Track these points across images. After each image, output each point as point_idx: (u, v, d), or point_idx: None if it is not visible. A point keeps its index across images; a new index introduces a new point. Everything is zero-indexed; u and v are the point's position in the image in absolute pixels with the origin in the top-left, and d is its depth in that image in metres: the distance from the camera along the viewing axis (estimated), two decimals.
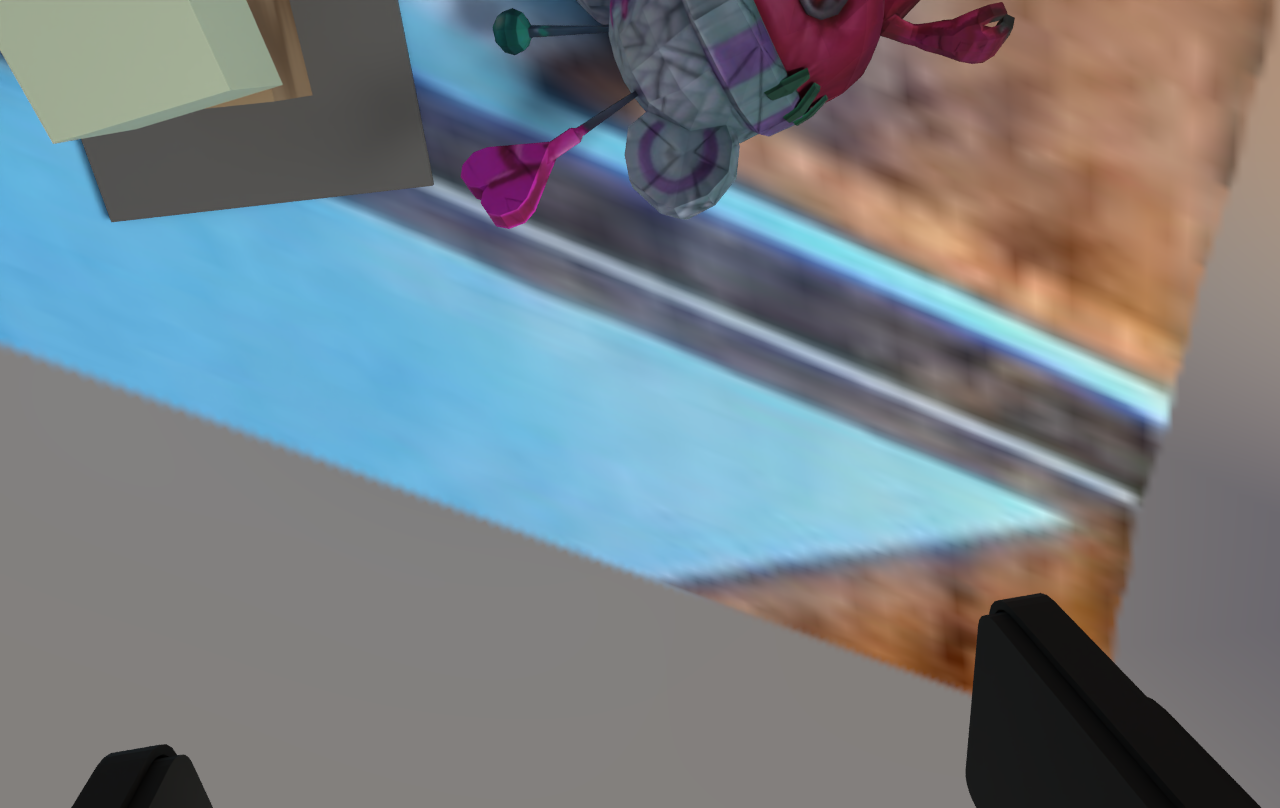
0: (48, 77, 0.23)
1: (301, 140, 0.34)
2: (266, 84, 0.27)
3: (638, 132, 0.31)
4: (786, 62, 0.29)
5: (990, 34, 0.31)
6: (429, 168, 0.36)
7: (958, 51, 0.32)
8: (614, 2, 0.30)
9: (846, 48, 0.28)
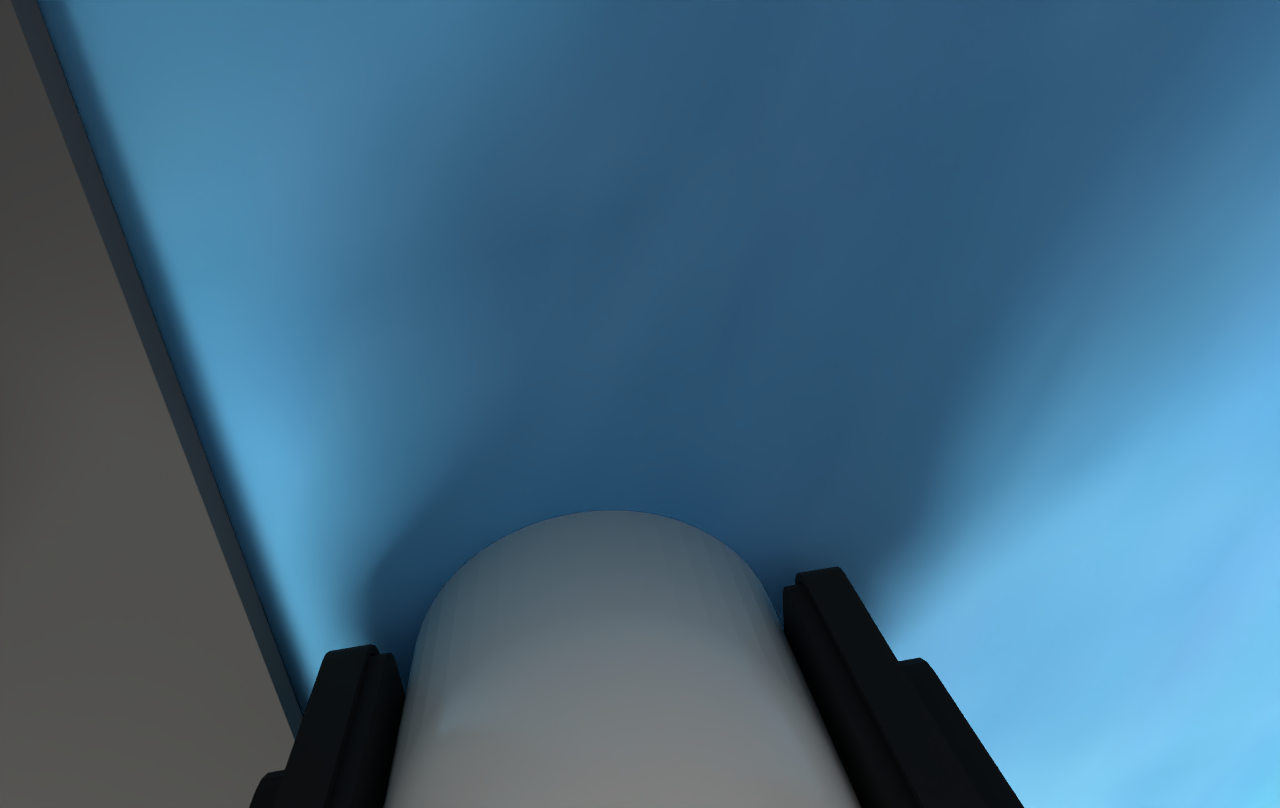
0: None
1: None
2: None
3: None
4: None
5: None
6: None
7: None
8: None
9: None
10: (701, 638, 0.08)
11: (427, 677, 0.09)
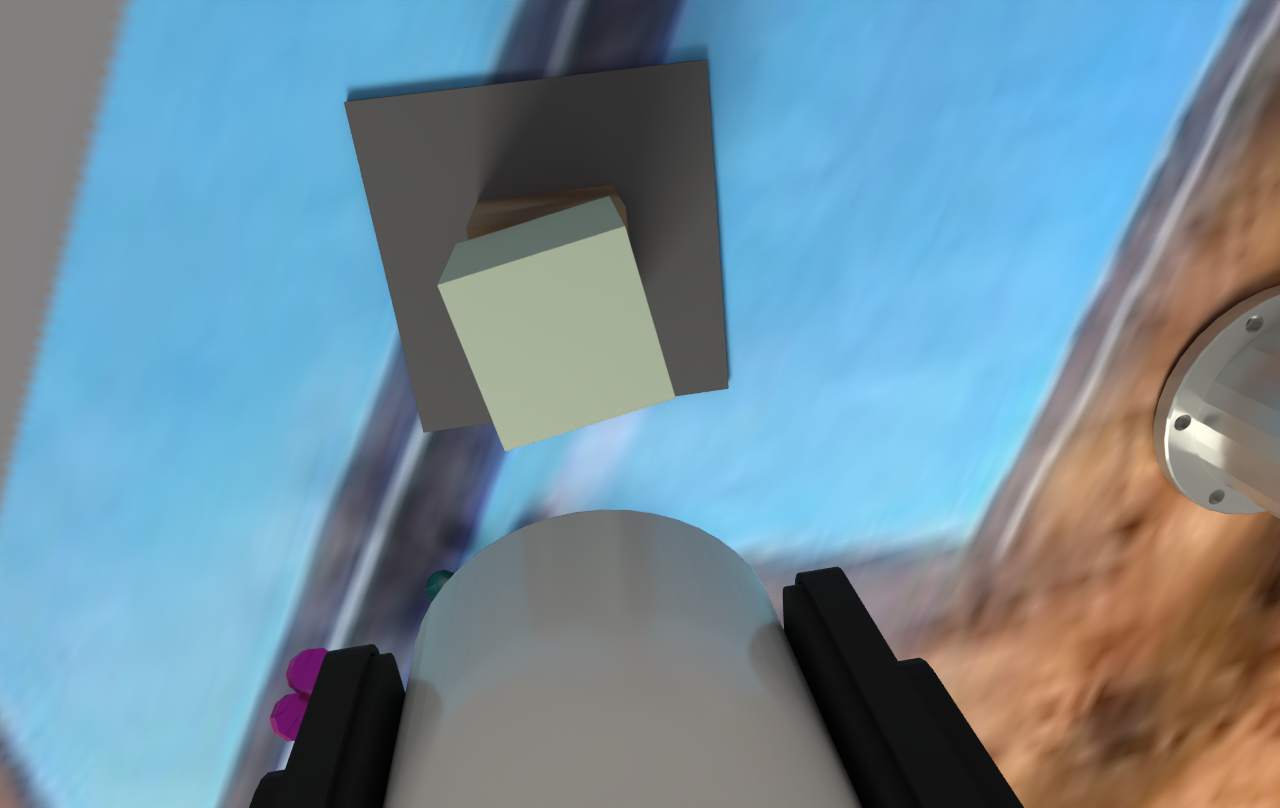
0: (504, 295, 0.23)
1: None
2: None
3: None
4: None
5: None
6: (440, 428, 0.36)
7: None
8: None
9: None
10: (702, 640, 0.08)
11: (426, 678, 0.09)
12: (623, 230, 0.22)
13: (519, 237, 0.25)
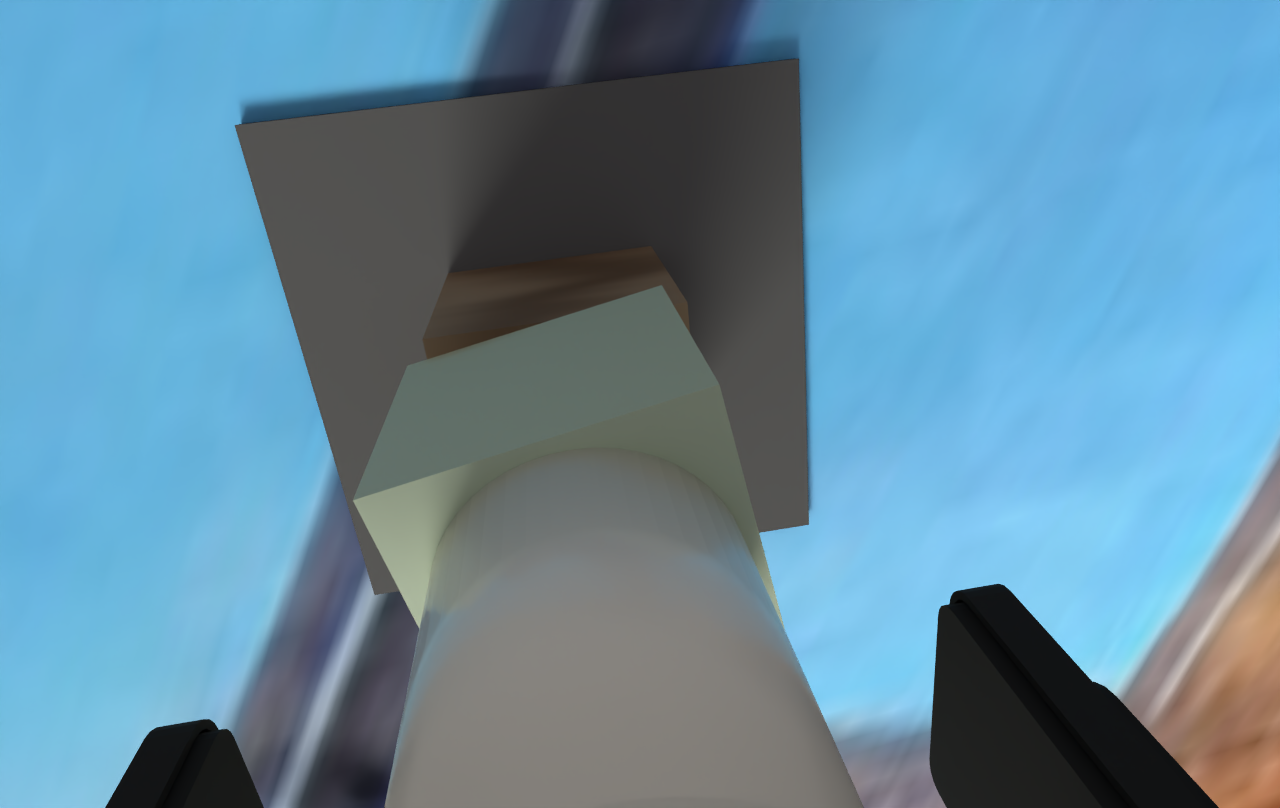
0: None
1: None
2: None
3: None
4: None
5: None
6: (398, 588, 0.25)
7: None
8: None
9: None
10: (674, 542, 0.10)
11: (444, 580, 0.10)
12: (715, 391, 0.11)
13: (513, 372, 0.14)
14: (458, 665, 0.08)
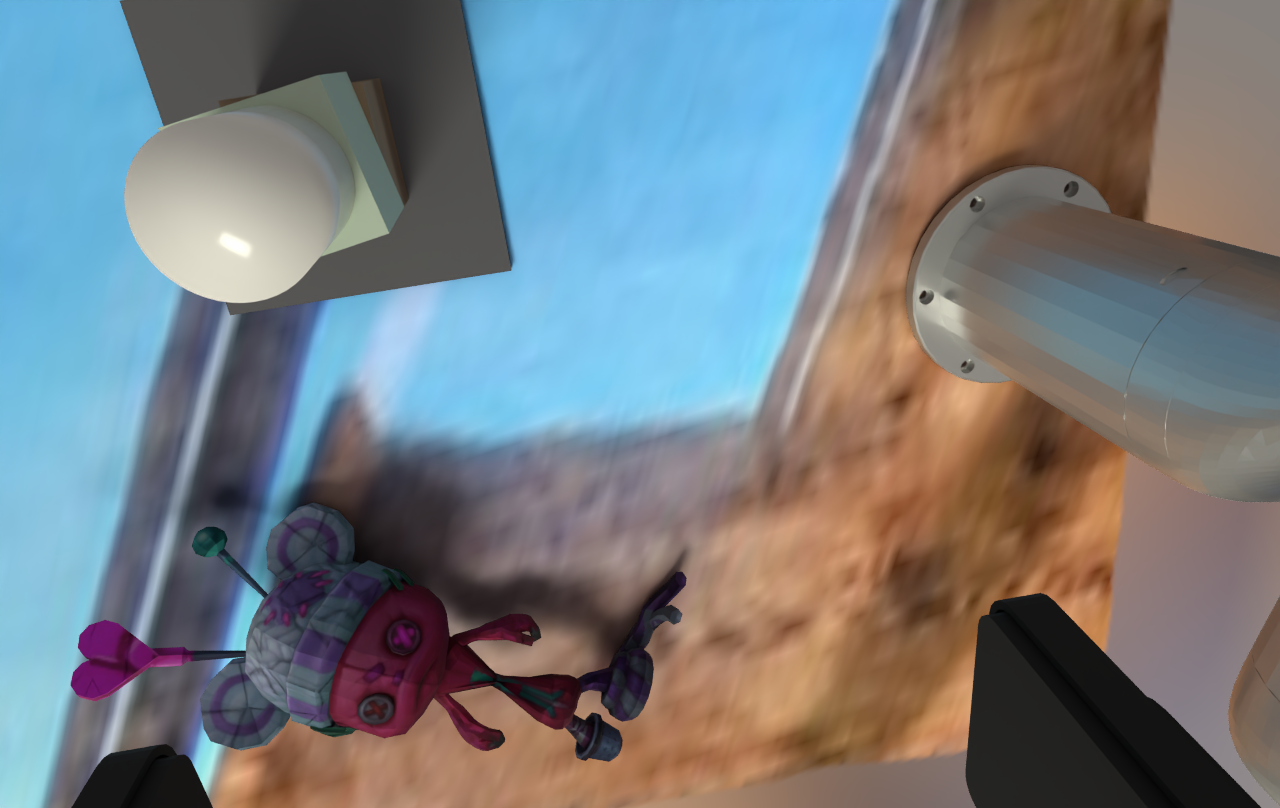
0: None
1: None
2: None
3: (231, 672, 0.42)
4: (334, 719, 0.41)
5: (482, 745, 0.46)
6: (246, 311, 0.39)
7: (463, 738, 0.46)
8: (269, 604, 0.41)
9: (374, 733, 0.42)
10: (275, 114, 0.24)
11: None
12: (318, 79, 0.26)
13: None
14: None
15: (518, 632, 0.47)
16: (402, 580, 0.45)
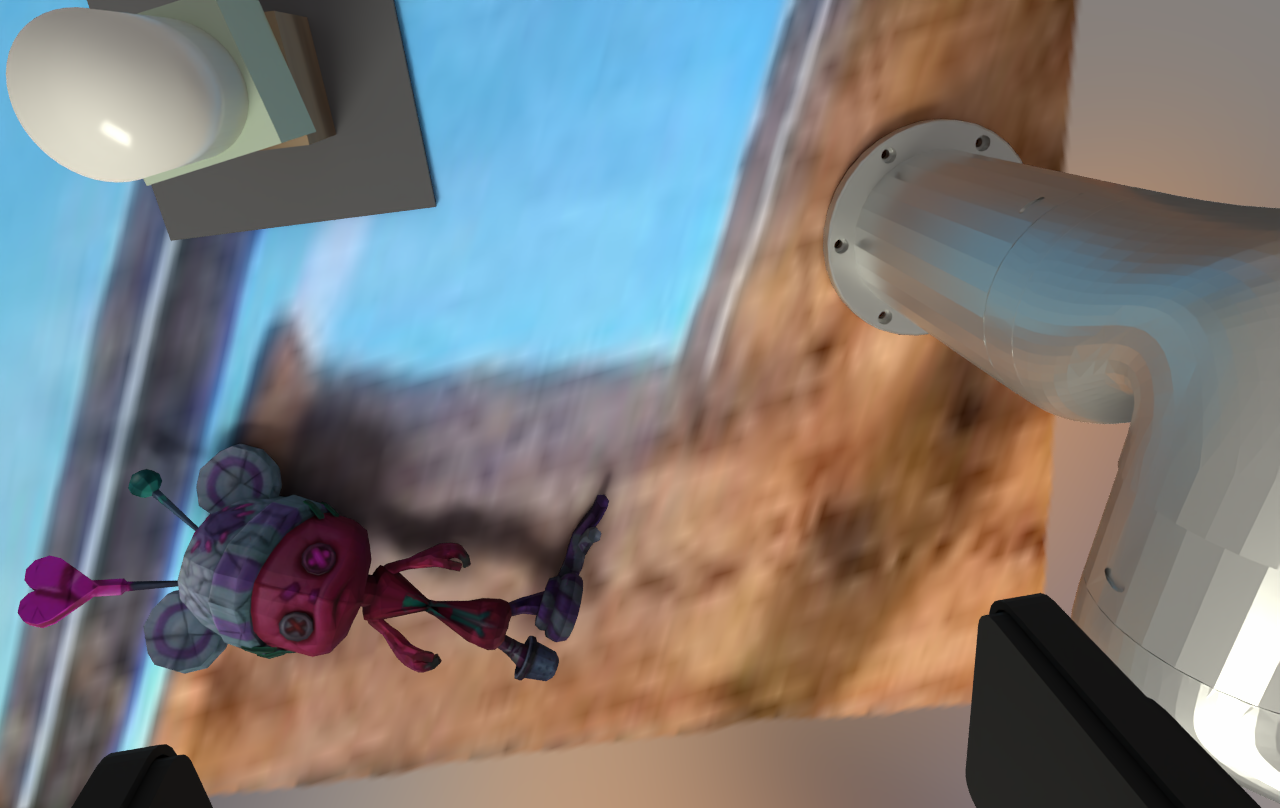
0: None
1: None
2: None
3: (170, 602, 0.45)
4: (262, 639, 0.44)
5: (417, 666, 0.49)
6: (185, 238, 0.42)
7: (400, 660, 0.49)
8: (195, 535, 0.44)
9: (302, 651, 0.44)
10: (160, 19, 0.27)
11: None
12: None
13: None
14: None
15: (445, 558, 0.49)
16: (327, 512, 0.47)
